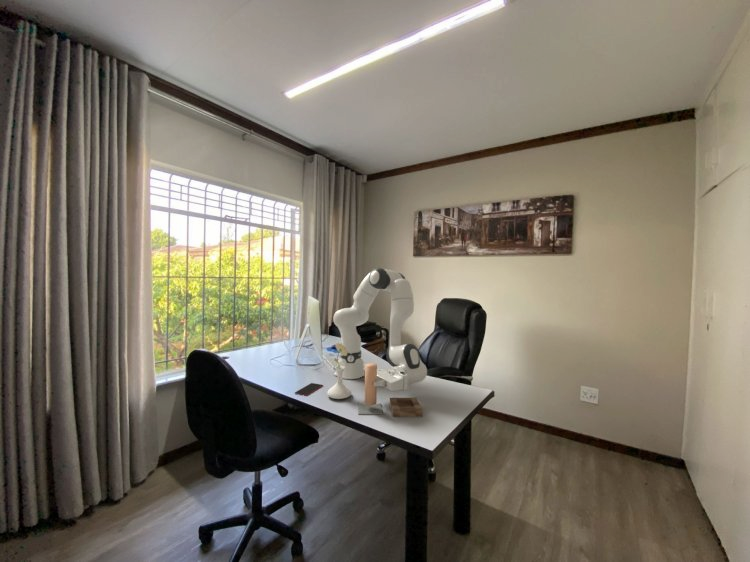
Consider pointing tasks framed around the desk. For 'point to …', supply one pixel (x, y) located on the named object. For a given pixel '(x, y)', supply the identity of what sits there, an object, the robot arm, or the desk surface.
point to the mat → (369, 409)
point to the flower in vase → (339, 378)
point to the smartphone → (309, 389)
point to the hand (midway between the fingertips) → (369, 381)
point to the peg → (370, 384)
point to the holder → (405, 407)
